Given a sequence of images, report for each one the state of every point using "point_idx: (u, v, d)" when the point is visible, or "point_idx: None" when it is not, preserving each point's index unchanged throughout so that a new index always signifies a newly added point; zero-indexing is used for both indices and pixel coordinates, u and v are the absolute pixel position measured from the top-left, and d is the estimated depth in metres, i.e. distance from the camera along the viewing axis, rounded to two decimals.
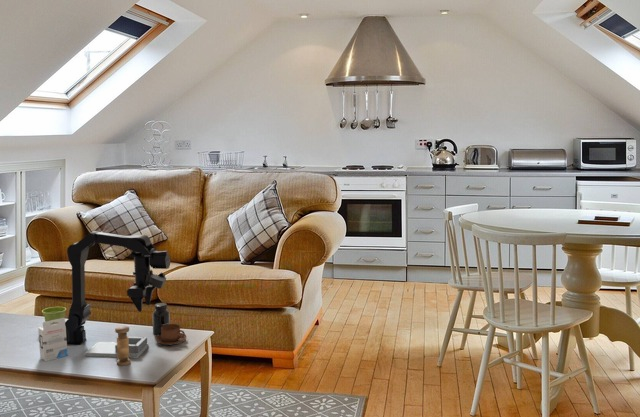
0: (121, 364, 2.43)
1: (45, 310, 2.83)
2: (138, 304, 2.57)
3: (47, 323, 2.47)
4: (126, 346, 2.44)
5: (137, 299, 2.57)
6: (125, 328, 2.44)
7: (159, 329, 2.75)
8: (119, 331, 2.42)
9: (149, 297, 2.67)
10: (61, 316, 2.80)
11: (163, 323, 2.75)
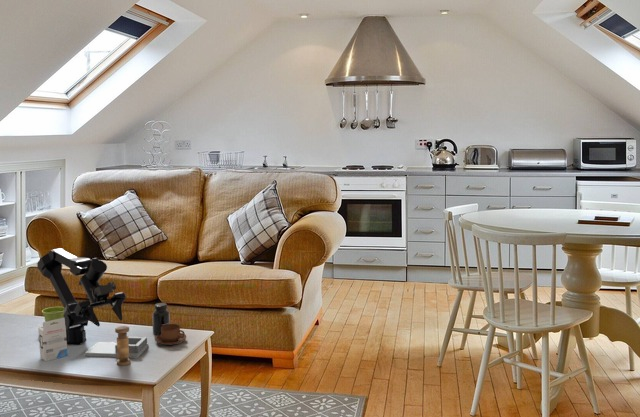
0: (121, 364, 2.43)
1: (45, 310, 2.83)
2: (92, 319, 2.46)
3: (47, 323, 2.47)
4: (126, 346, 2.44)
5: (90, 315, 2.47)
6: (125, 328, 2.44)
7: (159, 329, 2.75)
8: (119, 331, 2.42)
9: (118, 312, 2.53)
10: (61, 316, 2.80)
11: (163, 323, 2.75)
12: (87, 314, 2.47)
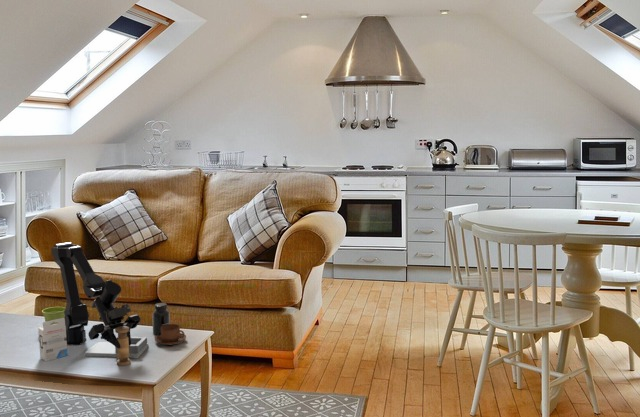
0: (121, 364, 2.43)
1: (45, 310, 2.83)
2: (113, 341, 2.43)
3: (47, 323, 2.47)
4: (126, 346, 2.44)
5: (110, 337, 2.43)
6: (125, 328, 2.44)
7: (159, 329, 2.75)
8: (119, 331, 2.42)
9: None
10: (61, 316, 2.80)
11: (163, 323, 2.75)
12: (107, 336, 2.44)
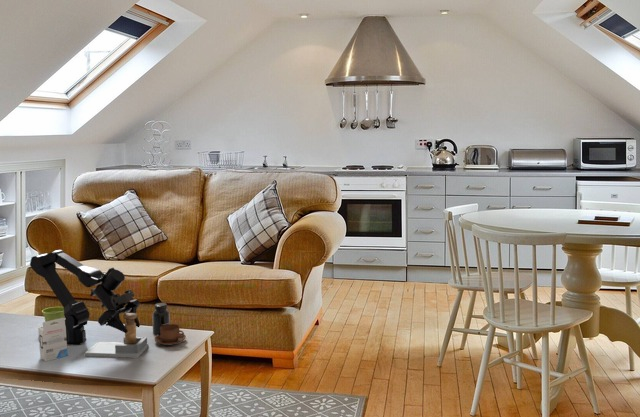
0: None
1: (45, 310, 2.83)
2: (119, 326, 2.52)
3: (47, 323, 2.47)
4: (135, 332, 2.56)
5: (116, 323, 2.52)
6: (133, 314, 2.56)
7: (159, 329, 2.75)
8: (129, 317, 2.53)
9: (135, 319, 2.59)
10: (61, 316, 2.80)
11: (163, 323, 2.75)
12: (112, 322, 2.53)
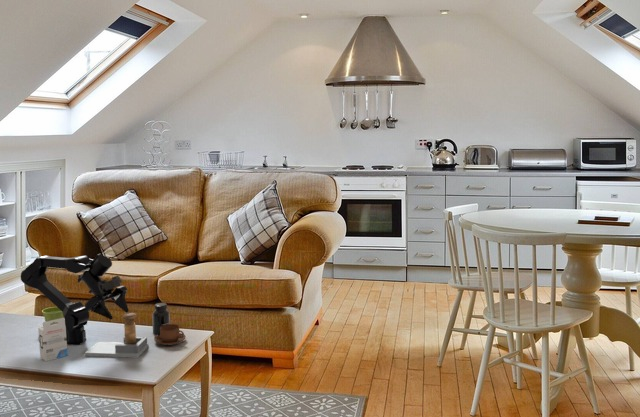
0: None
1: (45, 310, 2.83)
2: (105, 313, 2.53)
3: (47, 323, 2.47)
4: (134, 331, 2.56)
5: (101, 309, 2.53)
6: (132, 314, 2.56)
7: (159, 329, 2.75)
8: (129, 317, 2.53)
9: (124, 305, 2.62)
10: (61, 316, 2.80)
11: (163, 323, 2.75)
12: (98, 309, 2.53)
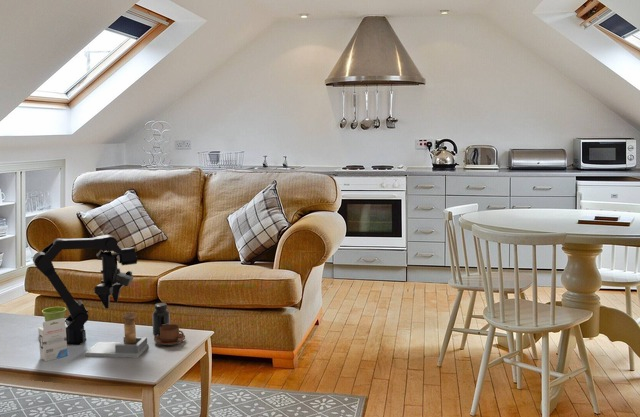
0: None
1: (45, 310, 2.83)
2: (105, 301, 2.67)
3: (47, 323, 2.47)
4: (134, 331, 2.56)
5: (104, 296, 2.66)
6: (132, 314, 2.56)
7: (159, 329, 2.75)
8: (128, 317, 2.53)
9: (117, 294, 2.77)
10: (61, 316, 2.80)
11: (163, 323, 2.75)
12: (102, 294, 2.66)
